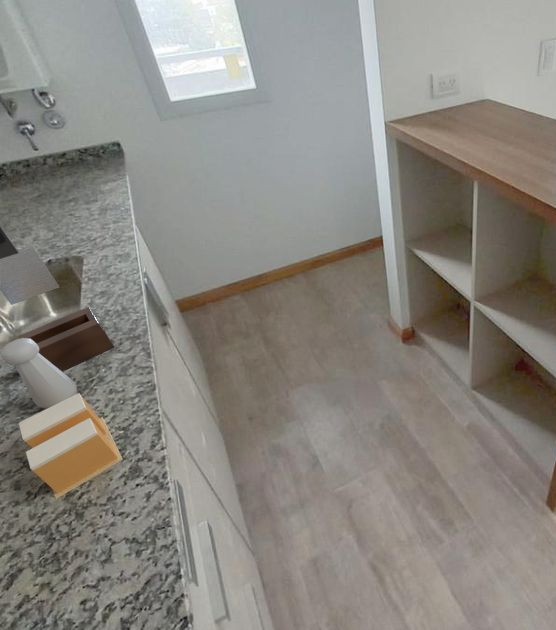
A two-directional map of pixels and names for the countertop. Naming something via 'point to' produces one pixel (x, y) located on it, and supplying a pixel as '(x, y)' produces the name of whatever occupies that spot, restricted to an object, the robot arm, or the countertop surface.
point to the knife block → (70, 339)
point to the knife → (22, 273)
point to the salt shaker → (38, 373)
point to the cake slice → (71, 455)
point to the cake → (64, 428)
